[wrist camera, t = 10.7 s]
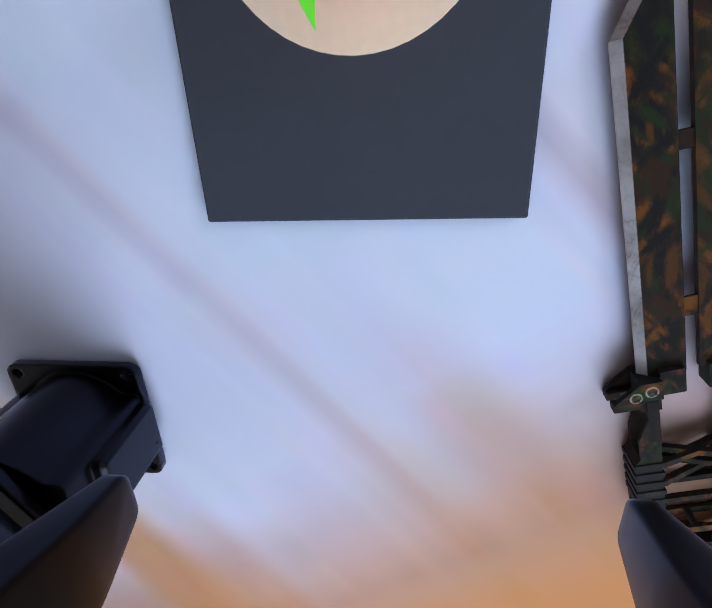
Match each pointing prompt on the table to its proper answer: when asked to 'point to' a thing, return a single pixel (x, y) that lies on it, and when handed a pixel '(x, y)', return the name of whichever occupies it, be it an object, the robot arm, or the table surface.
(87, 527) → the robot arm
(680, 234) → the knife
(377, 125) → the placemat
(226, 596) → the table surface
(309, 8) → the clementine
